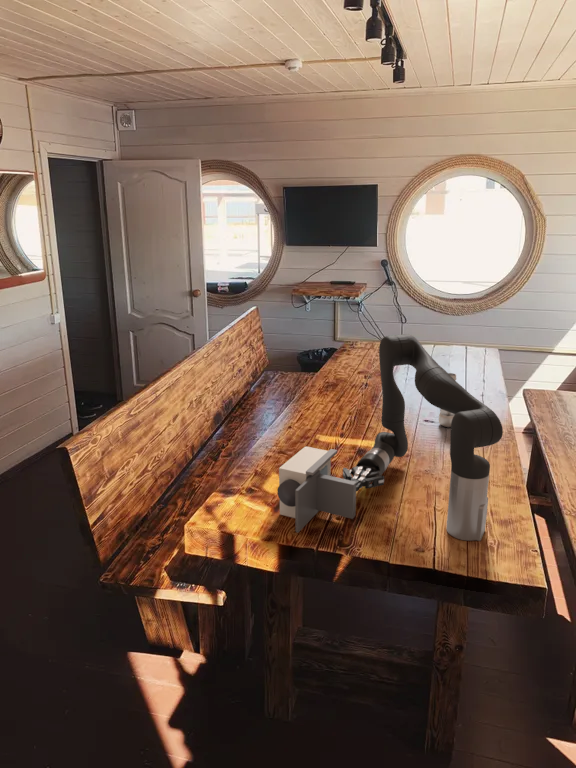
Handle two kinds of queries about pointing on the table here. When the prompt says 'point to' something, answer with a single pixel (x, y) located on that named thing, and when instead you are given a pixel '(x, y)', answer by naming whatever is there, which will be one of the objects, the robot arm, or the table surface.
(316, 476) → the side door
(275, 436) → the table surface
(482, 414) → the robot arm
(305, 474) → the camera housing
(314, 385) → the table surface
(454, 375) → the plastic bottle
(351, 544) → the table surface
